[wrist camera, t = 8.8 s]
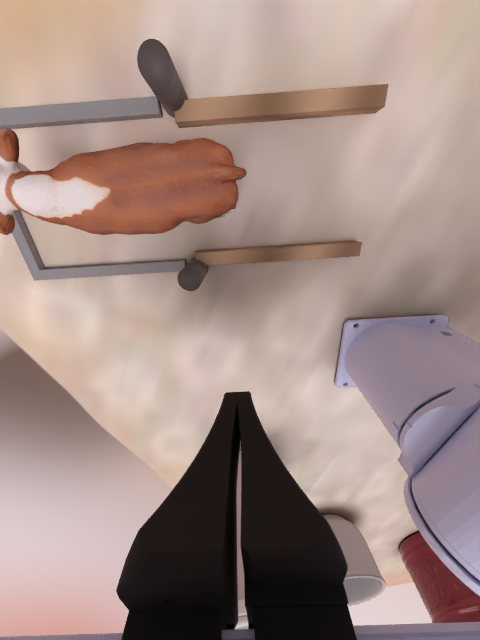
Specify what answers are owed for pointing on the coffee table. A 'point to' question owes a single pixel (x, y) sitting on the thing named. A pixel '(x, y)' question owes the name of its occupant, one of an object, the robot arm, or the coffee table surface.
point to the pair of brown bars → (245, 110)
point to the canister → (438, 584)
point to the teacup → (356, 562)
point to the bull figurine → (122, 187)
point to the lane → (78, 115)
